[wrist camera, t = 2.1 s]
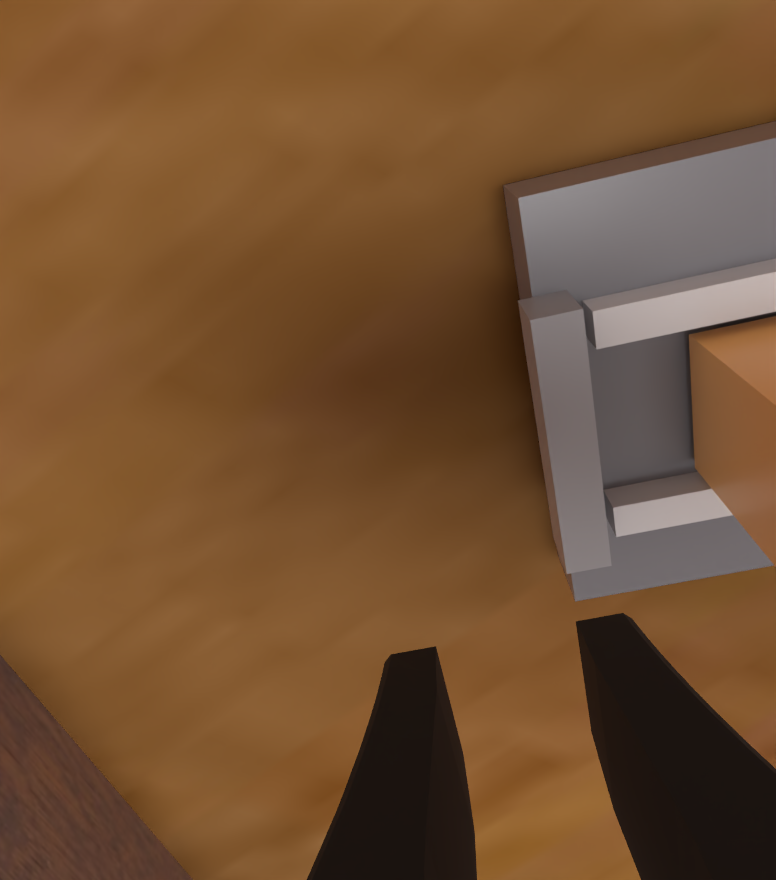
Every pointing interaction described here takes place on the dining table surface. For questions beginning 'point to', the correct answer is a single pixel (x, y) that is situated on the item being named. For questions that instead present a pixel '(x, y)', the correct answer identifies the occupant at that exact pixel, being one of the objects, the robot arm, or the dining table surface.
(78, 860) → the tissue box cover
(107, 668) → the dining table surface
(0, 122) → the dining table surface
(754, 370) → the fader tab
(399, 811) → the robot arm
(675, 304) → the grey flat railed block
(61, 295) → the dining table surface
